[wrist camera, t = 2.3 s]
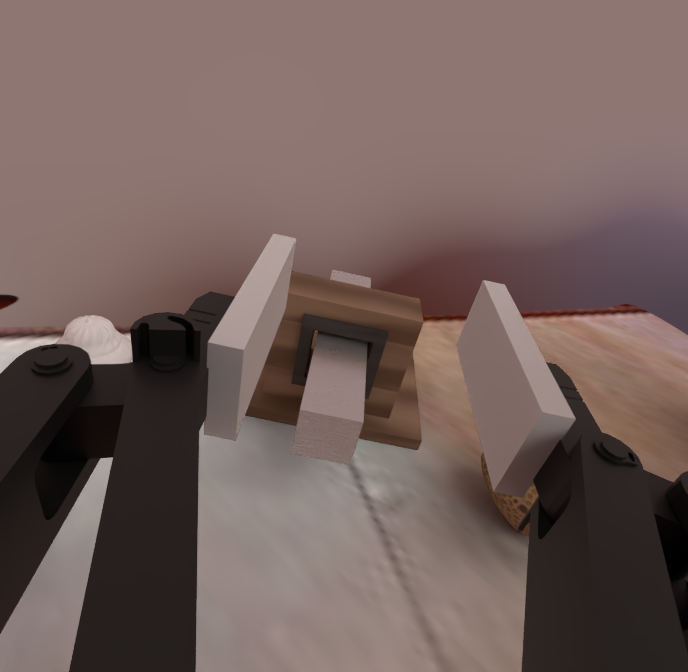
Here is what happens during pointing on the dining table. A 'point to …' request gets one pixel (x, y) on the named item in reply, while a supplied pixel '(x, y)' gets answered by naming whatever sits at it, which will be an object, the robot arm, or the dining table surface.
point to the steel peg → (333, 393)
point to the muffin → (98, 340)
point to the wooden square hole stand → (354, 322)
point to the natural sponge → (511, 502)
